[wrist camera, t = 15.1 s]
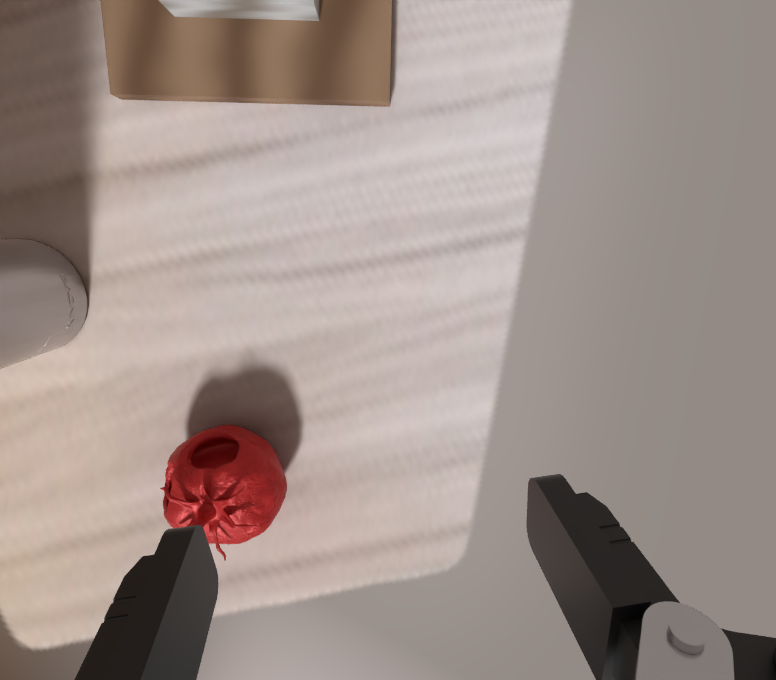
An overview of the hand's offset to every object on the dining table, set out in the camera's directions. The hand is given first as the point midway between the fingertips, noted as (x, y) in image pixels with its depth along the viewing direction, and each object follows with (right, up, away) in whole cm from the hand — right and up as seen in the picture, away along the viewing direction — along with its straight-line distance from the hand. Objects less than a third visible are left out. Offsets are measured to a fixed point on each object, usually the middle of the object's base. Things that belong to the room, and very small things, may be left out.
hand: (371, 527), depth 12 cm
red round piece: (-13, -7, +31) cm, 34 cm away
